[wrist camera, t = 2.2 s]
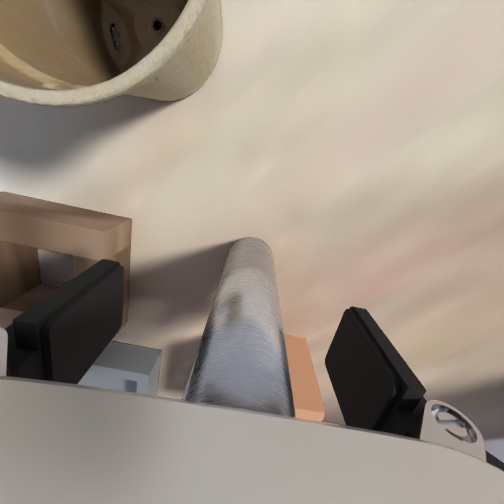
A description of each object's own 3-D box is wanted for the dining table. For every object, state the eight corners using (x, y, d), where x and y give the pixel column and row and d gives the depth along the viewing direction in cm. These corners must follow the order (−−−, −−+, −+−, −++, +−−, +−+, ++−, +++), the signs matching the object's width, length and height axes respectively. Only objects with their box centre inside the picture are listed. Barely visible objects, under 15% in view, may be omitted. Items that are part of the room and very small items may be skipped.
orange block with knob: (305, 338, 19) (326, 415, 13) (288, 385, 21) (299, 471, 15) (241, 325, 19) (234, 398, 13) (229, 374, 20) (218, 458, 15)
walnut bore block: (131, 218, 16) (104, 231, 13) (127, 320, 19) (104, 349, 16) (3, 191, 16) (-54, 198, 13) (18, 299, 18) (-26, 325, 15)
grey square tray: (161, 350, 20) (149, 375, 17) (149, 458, 24) (138, 488, 22) (-17, 317, 19) (-53, 338, 17) (7, 434, 24) (-19, 463, 21)
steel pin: (277, 242, 16) (320, 430, 5) (267, 282, 17) (282, 512, 6) (232, 233, 16) (172, 403, 5) (224, 273, 17) (159, 492, 6)
